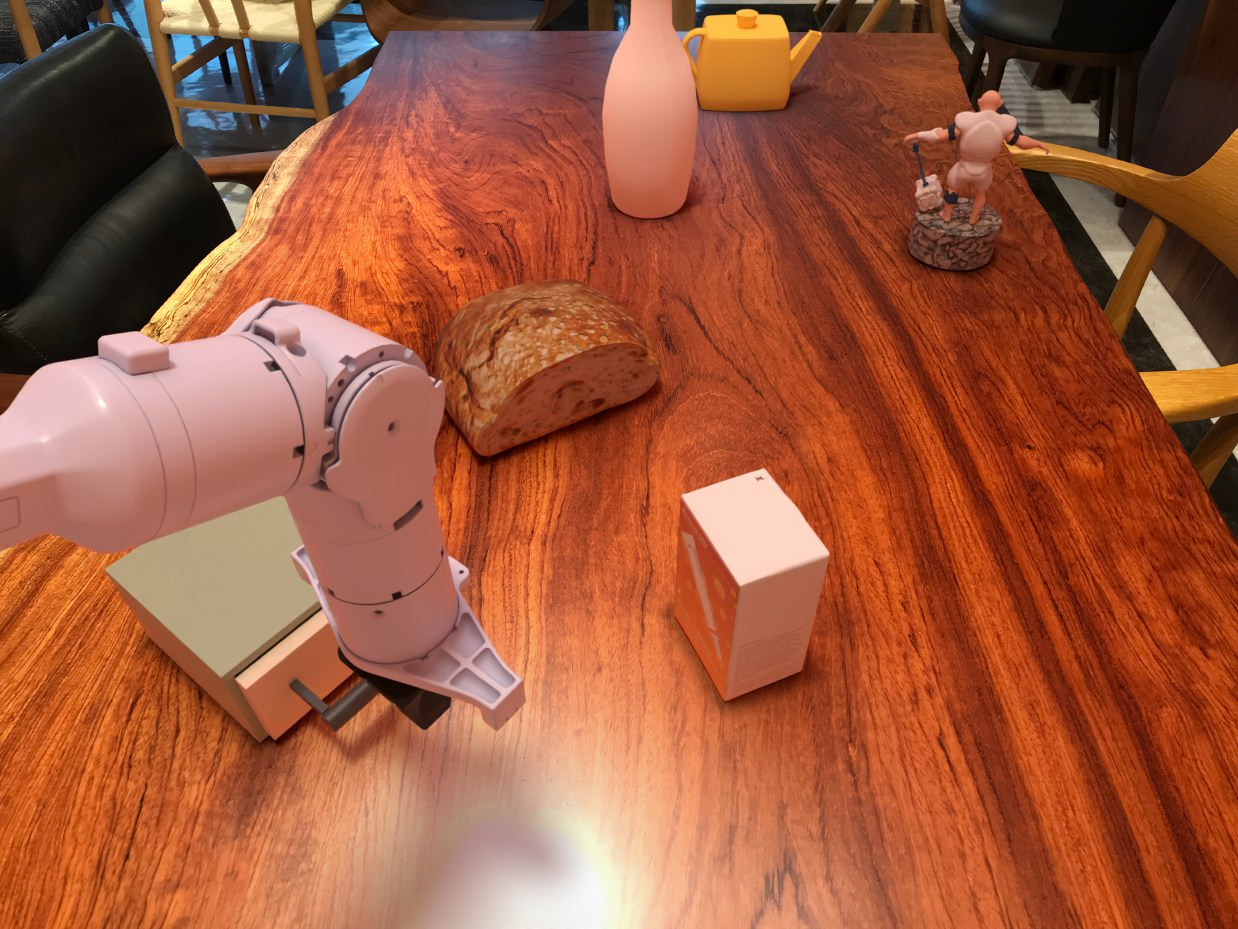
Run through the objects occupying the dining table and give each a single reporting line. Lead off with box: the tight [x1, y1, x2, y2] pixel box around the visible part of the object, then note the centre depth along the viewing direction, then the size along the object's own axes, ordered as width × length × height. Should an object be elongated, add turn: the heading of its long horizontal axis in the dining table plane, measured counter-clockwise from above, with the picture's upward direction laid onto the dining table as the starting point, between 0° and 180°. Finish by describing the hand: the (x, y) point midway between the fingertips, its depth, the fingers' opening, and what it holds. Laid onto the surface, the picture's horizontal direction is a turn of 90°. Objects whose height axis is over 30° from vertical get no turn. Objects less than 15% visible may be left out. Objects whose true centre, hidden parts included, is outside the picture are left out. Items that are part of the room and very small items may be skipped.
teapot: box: [681, 8, 823, 112], centre depth 128 cm, size 20×12×12 cm, turn 89°
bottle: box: [601, 0, 699, 219], centre depth 100 cm, size 11×11×25 cm
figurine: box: [903, 90, 1050, 271], centre depth 94 cm, size 15×9×18 cm, turn 78°
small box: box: [673, 467, 831, 702], centre depth 58 cm, size 8×6×13 cm
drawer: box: [234, 607, 380, 741], centre depth 59 cm, size 17×10×6 cm, turn 52°
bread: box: [433, 278, 662, 457], centre depth 81 cm, size 20×18×10 cm
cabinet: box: [103, 495, 321, 743], centre depth 61 cm, size 13×11×8 cm
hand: (429, 711), depth 49 cm, fingers closed
